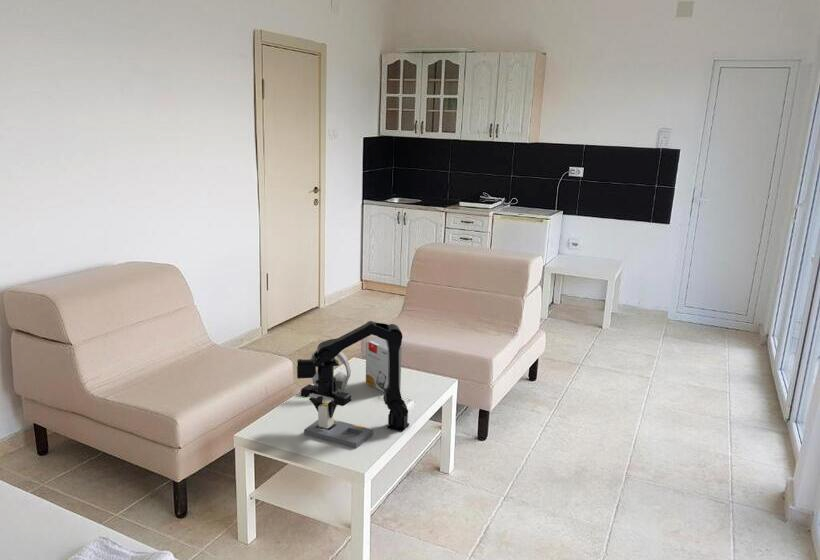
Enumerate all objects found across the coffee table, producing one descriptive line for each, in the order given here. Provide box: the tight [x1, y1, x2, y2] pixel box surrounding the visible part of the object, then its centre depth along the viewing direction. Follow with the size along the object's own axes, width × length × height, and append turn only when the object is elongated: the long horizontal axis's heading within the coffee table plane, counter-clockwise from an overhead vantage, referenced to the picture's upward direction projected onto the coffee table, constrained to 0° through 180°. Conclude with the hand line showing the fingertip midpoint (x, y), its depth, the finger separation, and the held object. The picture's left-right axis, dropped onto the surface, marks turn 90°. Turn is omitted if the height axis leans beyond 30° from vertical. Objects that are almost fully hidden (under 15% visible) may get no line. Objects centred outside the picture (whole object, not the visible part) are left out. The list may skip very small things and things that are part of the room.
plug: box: [317, 401, 334, 430], centre depth 236 cm, size 4×4×9 cm
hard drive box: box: [365, 337, 403, 393], centre depth 277 cm, size 16×8×20 cm, turn 42°
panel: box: [303, 419, 374, 449], centre depth 235 cm, size 22×12×2 cm, turn 64°
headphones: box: [310, 349, 352, 394], centre depth 270 cm, size 19×8×20 cm, turn 66°
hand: (326, 416), depth 237 cm, fingers closed on plug, 4 cm apart
